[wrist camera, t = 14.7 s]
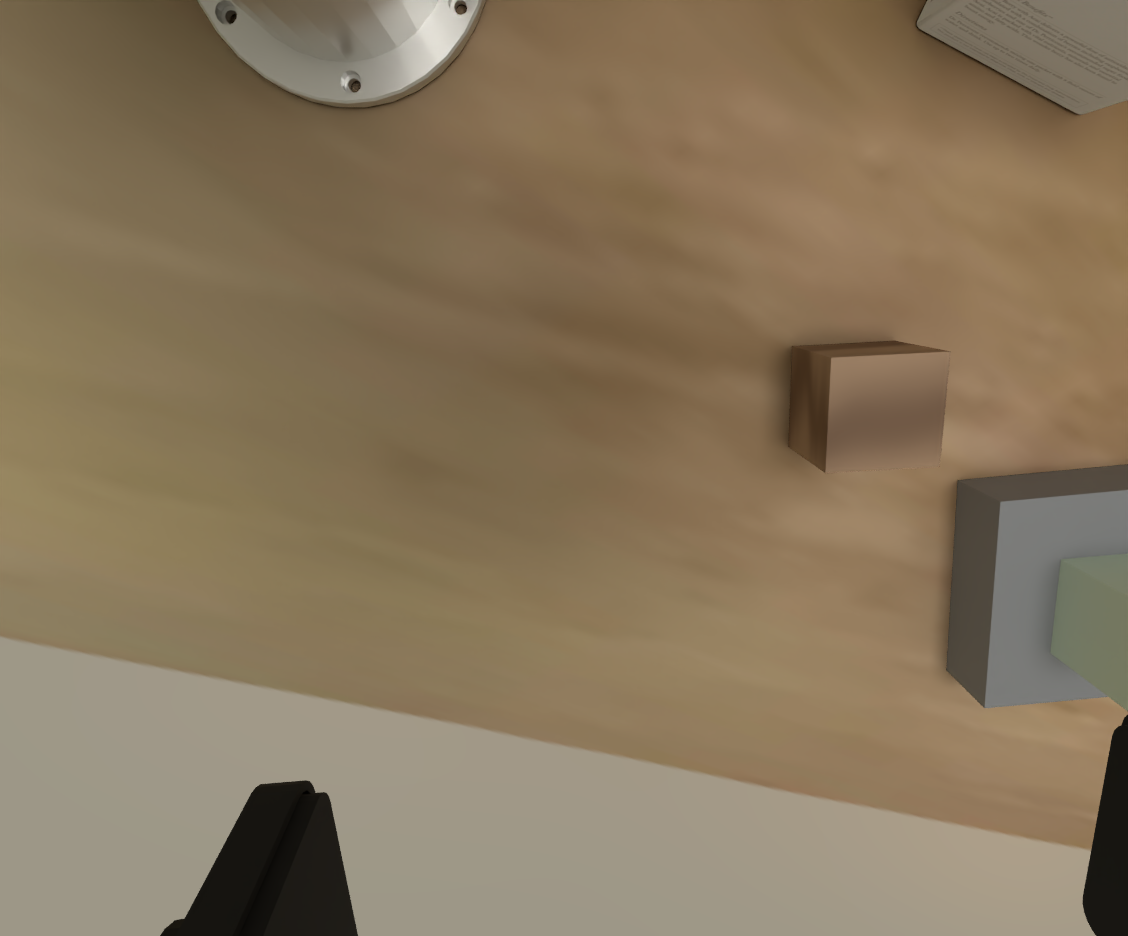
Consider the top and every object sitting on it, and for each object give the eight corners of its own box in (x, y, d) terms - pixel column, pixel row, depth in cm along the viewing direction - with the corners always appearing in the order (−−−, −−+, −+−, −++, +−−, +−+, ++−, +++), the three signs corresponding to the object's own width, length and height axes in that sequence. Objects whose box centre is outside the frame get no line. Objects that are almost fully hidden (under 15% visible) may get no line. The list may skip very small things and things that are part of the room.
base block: (952, 477, 37) (1000, 501, 33) (1164, 457, 37) (1237, 479, 33) (942, 665, 40) (984, 708, 36) (1138, 647, 40) (1201, 688, 36)
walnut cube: (791, 346, 34) (831, 357, 30) (894, 340, 34) (950, 351, 30) (787, 446, 36) (825, 473, 31) (886, 441, 36) (939, 466, 31)
